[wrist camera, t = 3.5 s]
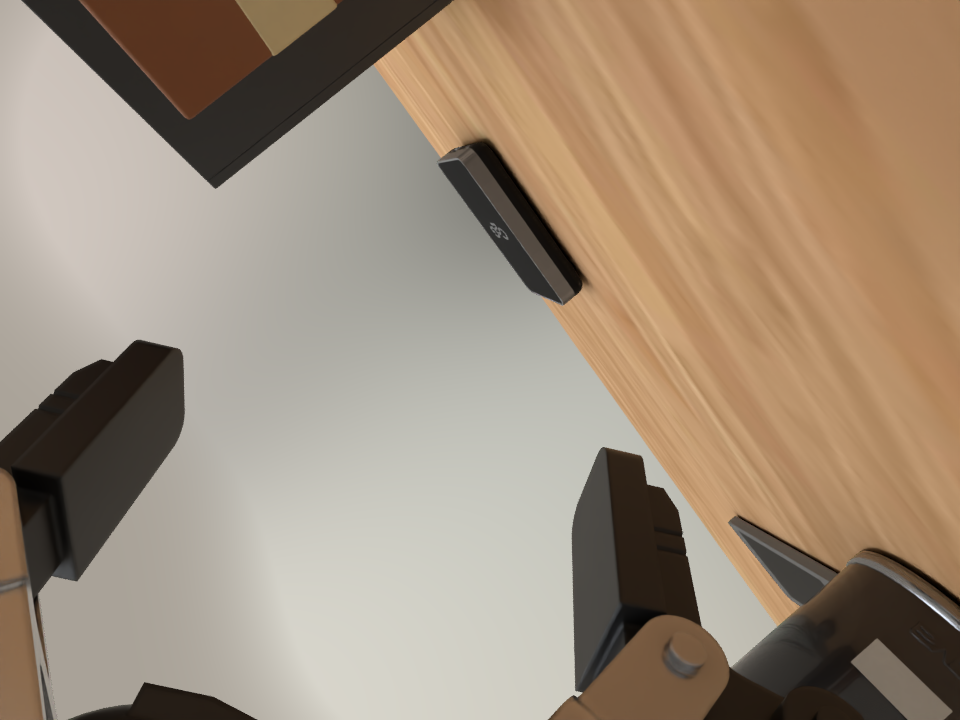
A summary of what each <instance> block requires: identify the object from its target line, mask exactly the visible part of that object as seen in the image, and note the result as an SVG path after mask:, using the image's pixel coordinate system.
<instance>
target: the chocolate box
mask: <svg viewBox="0 0 960 720" xmlns="http://www.w3.org/2000/svg"><path fill="white" fill-rule="evenodd" d="M79 1H80V2H81V3H82V4H83V6H84V7H85V8H86V9H87V10H88V11H89V12H90V13H91V14H92V16H93V17H94V18H95V19H96V20H97V21H98V22H99V23H100V24H101V26H102V27H103V28H104V29H105V30H106V31H107V32H108V33H109V34H110V35H111V37H112V38H113V39H114V40H115V41H116V42H117V43H118V44H119V45H120V47H121V48H122V49H123V50H124V51H125V52H126V53H127V54H128V55H129V57H130V58H131V59H132V60H133V61H134V62H135V63H136V64H137V65H138V66H139V68H140V69H141V70H142V71H143V72H144V73H145V74H146V75H147V76H148V78H149V79H150V80H151V81H152V82H153V83H154V84H155V85H156V86H157V88H158V89H159V90H160V91H161V92H162V93H163V94H164V95H165V96H166V97H167V99H168V100H169V101H170V102H171V103H172V104H173V105H174V106H175V107H176V109H177V110H178V111H179V112H180V113H181V114H182V115H183V116H184V117H185V118H187V119H189V120H190V119H192V118H194V117H195V116H196V115H197V114H199V113H200V112H201V111H202V110H204V109H205V108H206V107H208V106H209V105H210V104H211V103H213V102H214V101H215V100H217V99H218V98H219V97H220V96H222V95H223V94H224V93H225V92H227V91H228V90H229V89H231V88H232V87H233V86H234V85H236V84H237V83H238V82H239V81H241V80H242V79H243V78H245V77H246V76H247V75H248V74H250V73H251V72H252V71H254V70H255V69H256V68H257V67H259V66H260V65H261V64H262V63H264V62H265V61H266V60H268V59H269V58H270V57H271V56H275V55H277V54H278V53H280V52H281V51H282V50H283V49H285V48H286V47H287V46H289V45H290V44H291V43H292V42H294V41H295V40H296V39H298V38H299V37H300V36H301V35H303V34H304V33H305V32H306V31H308V30H309V29H310V28H312V27H313V26H314V25H315V24H317V23H318V22H319V21H320V20H322V19H323V18H324V17H326V16H327V15H328V14H329V13H331V12H332V11H333V10H335V9H336V7H337V5H338V4H339V3H340V2H342V1H343V0H79Z"/></svg>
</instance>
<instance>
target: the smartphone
mask: <svg viewBox="0 0 960 720" xmlns="http://www.w3.org/2000/svg"><path fill="white" fill-rule="evenodd" d="M728 523H729V525H730V526H731V527H732V528H733V529H734V531H735V532H736V533H737V534H738V536H739V537H740V538H741V539H742V541H743V542H744V543H745V544H746V546H747V547H748V548H749V549H750V551H751V552H752V553H753V554H754V556H755V557H756V558H757V559H758V561H759V562H760V563H761V564H762V566H763V567H764V568H765V569H766V571H767V572H768V573H769V574H770V576H771V577H772V578H773V579H774V581H775V582H776V583H777V584H778V586H779V587H780V588H781V589H782V591H783V592H784V593H785V594H786V595H787V596H788V597H789V598H790V599H791V600H792V601H793V602H795V603H796V604H798V605H799V606H802V605H803V604H804V603H806V602H807V601H808V600H809V599H810V598H811V597H812V596H814V595H815V594H816V593H817V592H818V591H819V590H820V589H822V588H823V587H824V586H825V585H826V584H827V583H828V582H830V581H831V580H832V579H833V578H834V577H835V576H836V575H838V574H837V573H835V572H834V571H832V570H830V569H828V568H826V567H825V566H823V565H821V564H819V563H818V562H816V561H814V560H812V559H811V558H809V557H807V556H805V555H803V554H802V553H800V552H798V551H796V550H795V549H793V548H791V547H789V546H788V545H786V544H784V543H782V542H780V541H779V540H777V539H775V538H773V537H772V536H770V535H768V534H766V533H765V532H763V531H761V530H759V529H758V528H756V527H754V526H752V525H750V524H749V523H747V522H745V521H743V520H742V519H740V518H738V517H736V516H735V517H733V518H732V519H731V520H730V521H729V522H728Z"/></svg>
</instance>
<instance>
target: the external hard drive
mask: <svg viewBox="0 0 960 720" xmlns="http://www.w3.org/2000/svg"><path fill="white" fill-rule="evenodd" d="M437 164H438V166H439V168H440V169H441V171H442V172H443V173H444V175H445V176H446V177H447V179H448V180H449V181H450V183H451V184H452V186H453V187H454V188H455V190H456V191H457V192H458V194H459V195H460V196H461V198H462V199H463V201H464V202H465V203H466V205H467V206H468V208H469V209H470V210H471V212H472V213H473V214H474V216H475V217H476V218H477V220H478V221H479V223H480V224H481V225H482V227H483V228H484V229H485V231H486V232H487V233H488V235H489V236H490V238H491V239H492V240H493V242H494V243H495V244H496V246H497V247H498V248H499V250H500V251H501V253H502V254H503V255H504V257H505V258H506V259H507V261H508V262H509V264H510V265H511V266H512V268H513V269H514V270H515V272H516V273H517V274H518V276H519V277H520V279H521V280H522V281H523V283H524V284H525V285H526V287H527V288H528V289H529V290H530V291H531V292H533V293H535V294H537V295H539V296H542V297H544V298H546V299H549V300H551V301H553V302H556V303H558V304H560V305H565V304H566V303H567V302H568V301H569V300H571V299H572V298H573V297H574V296H575V295H577V294H578V293H579V292H580V291H581V289H582V281H581V279H580V277H579V276H578V274H577V273H576V271H575V269H574V267H573V265H572V264H571V263H570V262H569V261H568V260H567V259H566V257H565V256H564V254H563V253H562V251H561V250H560V248H559V247H558V246H557V244H556V243H555V241H554V240H553V238H552V237H551V236H550V234H549V233H548V231H547V230H546V228H545V227H544V225H543V224H542V223H541V221H540V220H539V218H538V217H537V215H536V214H535V212H534V211H533V210H532V208H531V207H530V205H529V204H528V202H527V201H526V200H525V198H524V197H523V195H522V194H521V192H520V191H519V189H518V188H517V187H516V185H515V184H514V182H513V181H512V179H511V178H510V177H509V175H508V174H507V172H506V171H505V169H504V168H503V166H502V165H501V163H500V161H499V159H498V157H497V156H496V155H495V154H494V153H493V152H492V151H491V149H490V148H489V147H488V146H487V145H486V144H485V143H482V142H477V143H473V144H470V145H466V146H462V147H458V148H454V149H452V150H451V151H450V152H448V153H447V154H446V155H445V156H443V157H442V158H441V159H440V160H439V161H437Z"/></svg>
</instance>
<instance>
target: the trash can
mask: <svg viewBox="0 0 960 720" xmlns="http://www.w3.org/2000/svg"><path fill="white" fill-rule="evenodd" d="M22 1H23V2H24V3H25V4H26V5H27V6H28V7H29V8H30V9H31V10H32V11H33V12H34V13H35V14H36V15H37V16H38V17H39V18H40V19H41V20H42V21H43V22H44V23H46V25H47V26H48V27H49V28H50V29H52V30H53V32H55V33H56V34H57V35H58V36H59V37H60V38H61V39H62V40H63V41H64V42H65V43H66V44H67V45H68V46H69V47H70V48H71V49H72V50H73V51H74V52H75V53H76V54H77V55H78V56H79V57H80V58H81V59H82V60H83V61H84V62H85V63H86V64H87V65H88V66H89V67H90V68H91V69H93V70H94V71H95V72H96V73H97V74H98V75H99V76H100V77H101V78H102V79H103V80H104V81H105V82H106V83H107V84H108V85H109V86H110V87H111V88H112V89H113V90H114V91H115V92H116V93H117V94H118V95H119V96H120V97H121V98H122V99H123V100H124V101H125V102H126V103H127V104H128V105H129V106H130V107H132V109H134V110H135V111H136V112H137V113H138V114H139V115H140V116H141V117H142V118H143V119H144V120H145V121H146V122H147V123H148V124H149V125H150V126H151V127H152V128H153V129H154V130H155V131H156V132H157V133H158V134H159V135H160V136H161V137H162V138H164V140H165V141H166V142H168V143H169V145H171V147H173V148H174V149H175V150H176V151H177V152H178V153H179V154H180V155H181V156H182V157H183V158H184V159H185V160H186V161H187V162H188V163H189V164H190V165H191V166H192V167H193V168H194V169H195V170H196V171H197V172H198V173H199V174H200V175H201V176H203V178H204V179H205V180H207V182H209V183H210V184H211V185H212V186H213V187H214V188H215V189H216V188H218V187H219V186H220V185H221V184H223V183H224V182H225V181H226V180H228V179H229V178H230V177H232V176H233V175H234V174H235V173H237V172H238V171H239V170H240V169H241V168H243V167H244V166H245V165H247V164H248V163H249V162H250V161H252V160H253V159H254V158H255V157H257V156H258V155H259V154H261V153H262V152H263V151H264V150H266V149H267V148H268V147H269V146H270V145H272V144H273V143H274V142H276V141H277V140H278V139H279V138H281V137H282V136H283V135H285V134H286V133H287V132H288V131H290V130H291V129H292V128H293V127H295V126H296V125H297V124H298V123H300V122H301V121H302V120H303V119H305V118H306V117H307V116H308V115H310V114H311V113H312V112H313V111H315V110H316V109H317V108H319V107H320V106H321V105H322V104H323V103H325V102H326V101H327V100H329V99H330V98H331V97H332V96H334V95H335V94H336V93H338V92H339V91H340V90H341V89H343V88H344V87H345V86H346V85H348V84H349V83H350V82H351V81H352V80H354V79H355V78H356V77H358V76H359V75H360V74H361V73H363V72H364V71H365V70H366V69H368V68H369V67H370V66H372V65H373V64H374V63H375V62H377V61H378V60H379V59H380V58H382V57H383V56H384V55H386V54H387V53H388V52H389V51H391V50H392V49H393V48H394V47H396V46H397V45H398V44H399V43H401V42H402V41H403V40H404V39H406V38H407V37H408V36H409V35H411V34H412V33H413V32H415V31H416V30H417V29H418V28H420V27H421V26H422V25H423V24H425V23H426V22H427V21H428V20H430V19H431V18H432V17H433V16H435V15H436V14H437V13H439V12H440V11H441V10H442V9H444V8H445V7H446V6H447V5H449V4H450V3H451V2H452V1H453V0H343V1H342V2H340V3H339V4H338V5H337V7H336V9H335V10H333V11H332V12H331V13H329V14H328V15H327V16H326V17H324V18H323V19H322V20H320V21H319V22H318V23H317V24H315V25H314V26H313V27H312V28H310V29H309V30H308V31H306V32H305V33H304V34H303V35H301V36H300V37H299V38H298V39H296V40H295V41H294V42H292V43H291V44H290V45H289V46H287V47H286V48H285V49H283V50H282V51H281V52H280V53H278V54H277V55H275V56H271V57H270V58H269V59H268V60H266V61H265V62H264V63H262V64H261V65H260V66H259V67H257V68H256V69H255V70H254V71H252V72H251V73H250V74H248V75H247V76H246V77H245V78H243V79H242V80H241V81H239V82H238V83H237V84H236V85H234V86H233V87H232V88H231V89H229V90H228V91H227V92H225V93H224V94H223V95H222V96H220V97H219V98H218V99H217V100H215V101H214V102H213V103H211V104H210V105H209V106H208V107H206V108H205V109H204V110H202V111H201V112H200V113H199V114H197V115H196V116H195V117H194V118H192V119H190V120H189V119H187V118H185V117H184V116H183V115H182V114H181V113H180V112H179V111H178V110H177V109H176V107H175V106H174V105H173V104H172V103H171V102H170V101H169V100H168V99H167V97H166V96H165V95H164V94H163V93H162V92H161V91H160V90H159V89H158V88H157V86H156V85H155V84H154V83H153V82H152V81H151V80H150V79H149V78H148V76H147V75H146V74H145V73H144V72H143V71H142V70H141V69H140V68H139V66H138V65H137V64H136V63H135V62H134V61H133V60H132V59H131V58H130V57H129V55H128V54H127V53H126V52H125V51H124V50H123V49H122V48H121V47H120V45H119V44H118V43H117V42H116V41H115V40H114V39H113V38H112V37H111V35H110V34H109V33H108V32H107V31H106V30H105V29H104V28H103V27H102V26H101V24H100V23H99V22H98V21H97V20H96V19H95V18H94V17H93V16H92V14H91V13H90V12H89V11H88V10H87V9H86V8H85V7H84V6H83V4H82V3H81V2H80V1H79V0H22Z"/></svg>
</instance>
